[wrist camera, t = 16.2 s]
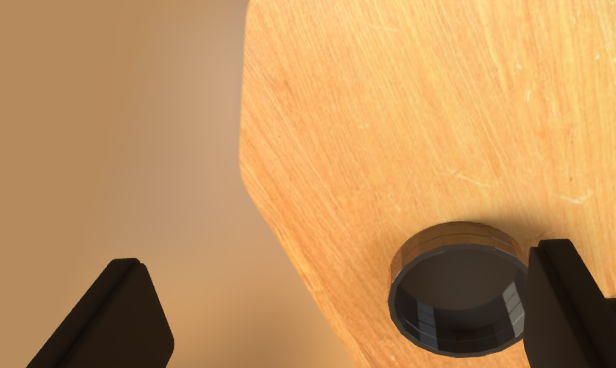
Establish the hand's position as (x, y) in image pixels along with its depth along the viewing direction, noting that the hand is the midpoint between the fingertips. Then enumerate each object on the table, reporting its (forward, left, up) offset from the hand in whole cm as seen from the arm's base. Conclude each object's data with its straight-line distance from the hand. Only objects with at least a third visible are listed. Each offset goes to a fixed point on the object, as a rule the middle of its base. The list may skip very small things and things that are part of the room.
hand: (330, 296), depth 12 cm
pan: (+17, -16, -29) cm, 37 cm away
